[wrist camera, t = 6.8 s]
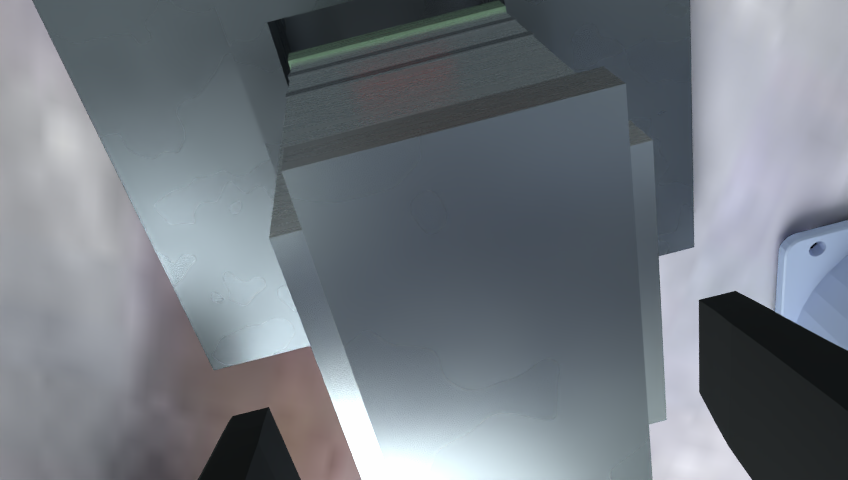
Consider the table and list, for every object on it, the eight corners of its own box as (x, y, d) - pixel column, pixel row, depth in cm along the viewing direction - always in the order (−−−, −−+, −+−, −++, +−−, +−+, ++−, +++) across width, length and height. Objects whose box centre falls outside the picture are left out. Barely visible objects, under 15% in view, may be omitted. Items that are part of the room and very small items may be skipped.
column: (490, -47, 12) (679, 70, 5) (532, 220, 14) (691, 497, 8) (275, 8, 11) (225, 185, 5) (356, 265, 14) (384, 577, 8)
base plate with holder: (659, -381, 13) (759, -448, 10) (678, 230, 20) (740, 295, 17) (-45, -205, 13) (-153, -221, 10) (218, 348, 20) (200, 435, 17)
